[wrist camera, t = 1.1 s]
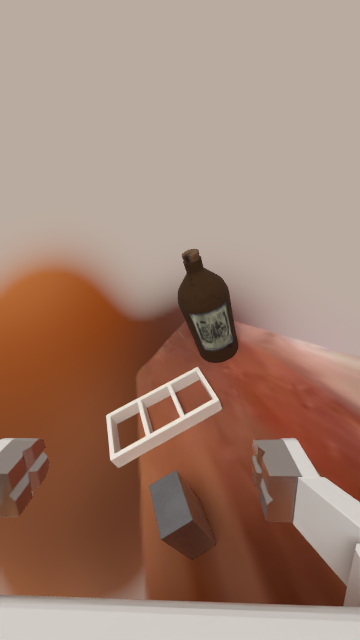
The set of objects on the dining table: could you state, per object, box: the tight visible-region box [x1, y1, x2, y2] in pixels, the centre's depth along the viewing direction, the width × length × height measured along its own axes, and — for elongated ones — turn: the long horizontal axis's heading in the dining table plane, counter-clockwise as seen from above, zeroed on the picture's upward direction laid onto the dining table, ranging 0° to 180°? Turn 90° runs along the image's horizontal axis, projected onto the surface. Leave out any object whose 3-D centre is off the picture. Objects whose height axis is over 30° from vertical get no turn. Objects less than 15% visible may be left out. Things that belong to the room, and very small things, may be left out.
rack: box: [106, 367, 222, 468], centre depth 45 cm, size 21×10×3 cm, turn 111°
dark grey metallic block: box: [149, 470, 216, 560], centre depth 28 cm, size 4×5×11 cm
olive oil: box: [178, 249, 238, 362], centre depth 49 cm, size 11×11×25 cm
